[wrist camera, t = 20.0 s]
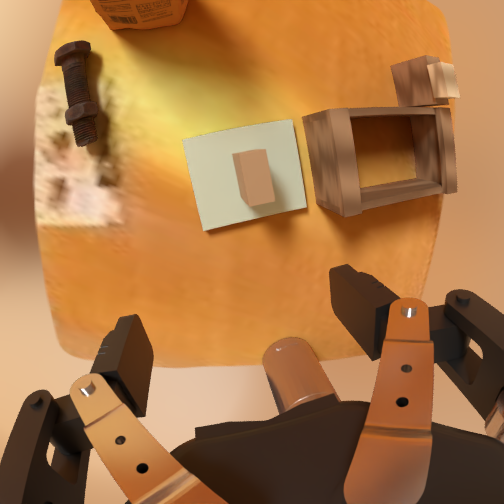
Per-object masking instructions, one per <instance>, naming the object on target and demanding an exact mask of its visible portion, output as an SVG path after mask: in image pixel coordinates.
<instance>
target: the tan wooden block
mask: <svg viewBox="0 0 504 504" xmlns="http://www.w3.org/2000/svg"><path fill="white" fill-rule="evenodd" d="M427 68H428V72H429V76H430V81H431V86H432V91H433V96H434V98H441V99H451V98H460V95H459V90H458V85H457V80H456V75H455V71H454V67H453V64H448V63H443V62H438V63H434V64H430V65H427Z"/></svg>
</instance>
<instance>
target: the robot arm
mask: <svg viewBox="0 0 504 504" xmlns="http://www.w3.org/2000/svg"><path fill="white" fill-rule="evenodd" d="M329 278H330V292H331V304H332V308H333V311H334V313H335V315H336V316H337V317H338V319H339V320H340V321H341V322H342V324H343V325H344V326H345V327H346V329H347V330H348V331H349V332H350V334H351V335H352V336H353V337H354V339H355V340H356V341H357V342H358V344H359V345H360V346H361V347H362V349H363V350H364V351H365V352H366V354H367V355H368V356H369V358H370V359H371V360H372V361H374V360H377V359H379V358H380V363H379V369H378V373H377V378H376V382H375V387H374V391H373V395H372V399H371V403H370V402H363V401H341V400H340V399H339V397H338V395H337V394H336V392H335V390H334V388H333V386H332V384H331V383H330V381H329V379H328V378H327V376H326V374H325V372H324V370H323V369H322V367H321V365H320V363H319V361H318V360H317V358H316V356H315V354H314V352H313V351H312V349H311V347H310V345H309V344H308V343H307V342H306V341H304V340H303V339H300V338H286V339H282V340H280V341H278V342H276V343H274V344H273V345H272V346H270V347H269V348H268V350H267V351H266V352H265V354H264V357H263V366H264V369H265V372H266V375H267V378H268V382H269V384H270V388H271V391H272V394H273V397H274V400H275V402H276V406H277V409H278V412H279V415H278V416H276V417H274V418H272V419H269V420H266V421H246V422H245V421H244V422H225V423H220V424H214V425H209V426H203V427H196V428H195V437H196V438H194V439H191V440H189V441H187V442H185V443H183V444H182V445H180V446H178V447H177V448H175V449H174V450H173V451H171V452H170V453H169V452H167V450H166V449H165V448H164V447H163V446H162V445H161V444H160V443H159V442H158V441H157V440H156V439H155V438H154V437H153V436H152V435H151V434H150V433H149V431H148V430H147V429H146V428H145V427H144V426H143V425H142V424H141V423H140V421H139V420H138V419H137V418H138V417H145V416H146V408H147V400H148V392H149V385H150V379H151V372H152V366H153V359H154V355H153V349H152V346H151V343H150V341H149V339H148V336H147V334H146V332H145V329H144V327H143V325H142V322H141V320H140V318H139V316H138V315H137V314H134V315H129V316H124V317H120V318H119V319H118V322H117V324H116V327H115V329H114V330H113V331H110V332H109V334H108V335H107V336H106V337H105V338H104V339H103V342H102V344H101V346H100V347H101V348H100V349H99V351H98V355H97V356H96V359H95V361H94V364H93V366H92V369H91V372H90V374H87V375H84V376H82V377H80V378H79V379H77V380H76V381H75V382H74V383H73V384H72V386H71V388H70V394H69V395H66V396H63V397H60V398H57V399H54V398H53V396H52V395H51V394H50V393H49V391H47V390H38V391H35V392H33V393H32V394H30V395H29V396H28V397H27V398H26V399H25V401H24V403H23V405H22V407H21V410H20V412H19V414H18V417H17V419H16V422H15V424H14V427H13V430H12V432H11V434H10V437H9V440H8V442H7V445H6V448H5V451H4V454H3V457H2V460H1V463H0V504H84V498H85V488H86V479H87V471H88V463H89V456H90V450H91V449H92V448H95V450H96V452H97V453H98V455H99V457H100V458H101V460H102V462H103V463H104V465H105V466H106V468H107V469H108V471H109V472H110V474H111V475H112V477H113V478H114V480H115V481H116V483H117V484H118V486H119V487H120V488H121V490H122V491H123V492H124V494H125V495H126V497H127V498H128V501H127V502H126V503H125V504H504V315H503V314H502V313H501V312H499V311H498V310H497V309H495V308H494V307H493V306H491V305H490V304H489V303H487V302H486V301H484V300H483V299H482V298H480V297H479V296H477V295H476V294H474V293H473V292H471V291H468V290H462V289H458V290H453V291H451V292H449V293H448V294H447V295H446V300H445V305H440V306H434V307H428V306H427V305H426V303H424V302H423V301H421V300H419V299H416V298H400V297H399V296H397V295H396V294H395V293H394V292H392V291H391V290H390V289H388V288H387V287H386V286H384V285H383V284H382V283H381V282H379V281H378V280H377V279H376V278H374V277H373V276H372V275H369V274H366V273H363V272H359V273H358V272H357V271H356V270H355V269H353V268H352V267H351V266H350V265H348V264H345V265H341V266H338V267H334V268H331V269H330V271H329ZM471 339H472V340H474V341H475V342H476V343H477V344H478V345H479V346H480V347H481V349H482V352H483V359H481V358H480V357H479V356H478V355H477V354H476V353H475V352H474V351H473V350H472V349H471V348H470V347H469V343H470V340H471ZM434 363H437V364H438V365H439V367H440V368H441V369H442V370H443V371H444V372H445V373H446V375H447V376H448V377H449V378H450V379H451V380H452V382H453V383H454V384H455V385H456V386H457V387H458V389H459V390H460V391H461V392H462V393H463V395H464V396H465V397H466V398H467V399H468V401H469V402H470V403H471V404H472V405H473V407H474V408H475V409H476V410H477V411H478V413H479V414H480V415H481V416H482V418H483V419H484V420H485V431H486V434H487V435H482V434H478V433H473V432H469V431H465V430H461V429H457V428H453V427H449V426H445V425H442V424H438V423H435V422H431V421H432V408H433V387H434ZM49 442H50V443H51V444H52V445H53V446H54V447H55V450H54V455H53V459H52V463H51V467H50V465H49V464H48V461H47V458H46V453H47V449H48V445H49Z"/></svg>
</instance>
